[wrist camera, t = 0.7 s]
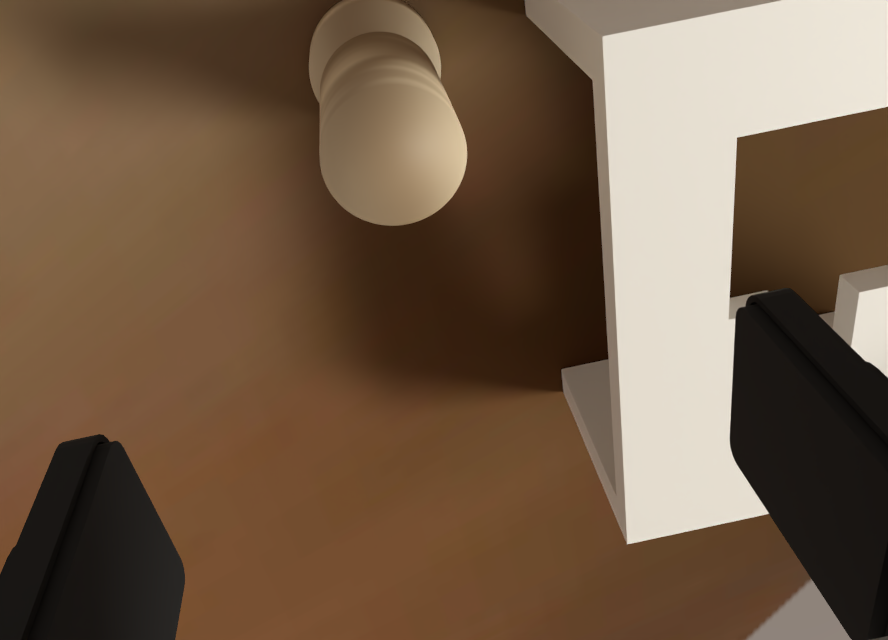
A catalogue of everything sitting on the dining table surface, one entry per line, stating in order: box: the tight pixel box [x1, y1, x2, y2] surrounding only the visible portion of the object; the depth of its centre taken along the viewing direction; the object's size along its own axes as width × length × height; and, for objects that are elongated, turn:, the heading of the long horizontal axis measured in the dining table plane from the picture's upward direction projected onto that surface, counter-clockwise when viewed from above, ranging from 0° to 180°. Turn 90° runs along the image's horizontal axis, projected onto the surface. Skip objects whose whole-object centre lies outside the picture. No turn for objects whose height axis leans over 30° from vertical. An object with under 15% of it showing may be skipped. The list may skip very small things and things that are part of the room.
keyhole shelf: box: [525, 0, 888, 544], centre depth 31 cm, size 20×14×10 cm
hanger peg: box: [309, 0, 467, 226], centre depth 26 cm, size 5×5×10 cm
